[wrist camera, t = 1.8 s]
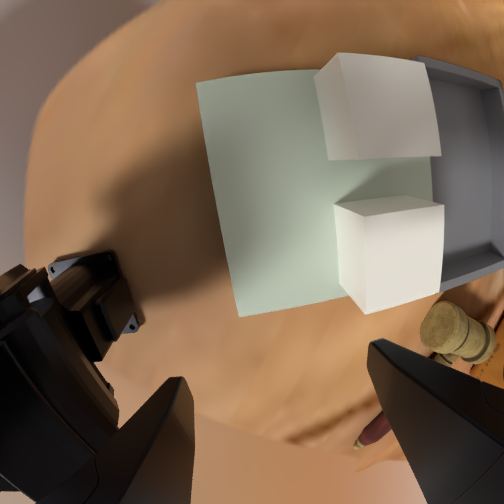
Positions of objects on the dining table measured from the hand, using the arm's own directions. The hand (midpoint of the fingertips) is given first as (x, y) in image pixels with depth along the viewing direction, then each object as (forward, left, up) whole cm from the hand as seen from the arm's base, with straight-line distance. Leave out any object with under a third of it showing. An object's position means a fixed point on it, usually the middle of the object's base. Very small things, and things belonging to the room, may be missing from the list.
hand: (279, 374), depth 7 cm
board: (+5, +3, -12) cm, 14 cm away
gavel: (+14, -19, -13) cm, 27 cm away
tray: (+18, +3, -12) cm, 22 cm away
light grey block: (+7, +7, -10) cm, 14 cm away
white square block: (+7, 0, -10) cm, 12 cm away
